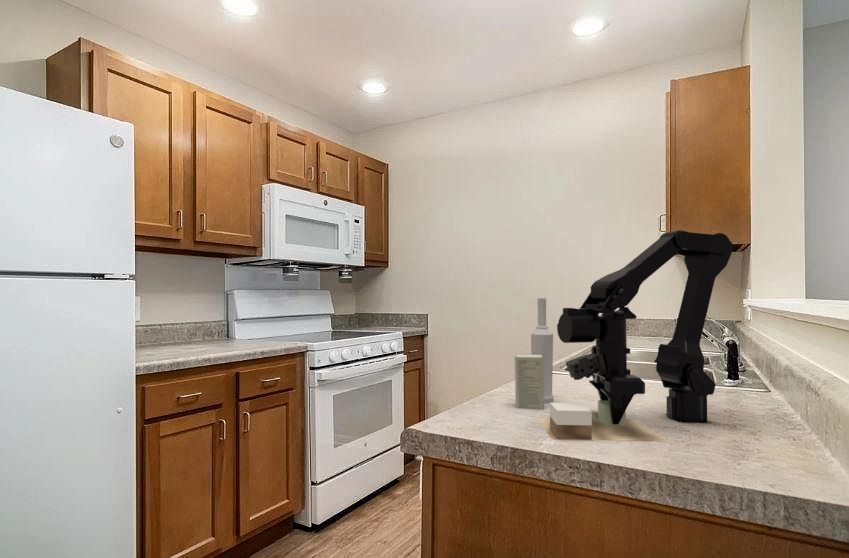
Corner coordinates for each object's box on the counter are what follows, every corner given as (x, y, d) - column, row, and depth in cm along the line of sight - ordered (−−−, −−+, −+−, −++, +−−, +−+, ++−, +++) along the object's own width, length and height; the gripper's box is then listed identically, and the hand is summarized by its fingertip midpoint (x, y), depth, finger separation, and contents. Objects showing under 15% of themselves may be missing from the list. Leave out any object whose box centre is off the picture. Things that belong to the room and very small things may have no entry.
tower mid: (582, 416, 90) (582, 403, 90) (591, 425, 84) (591, 411, 84) (549, 415, 90) (549, 402, 90) (556, 424, 84) (556, 410, 84)
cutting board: (636, 422, 97) (636, 419, 97) (668, 444, 83) (668, 441, 83) (537, 421, 98) (537, 418, 98) (551, 442, 84) (551, 438, 84)
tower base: (582, 429, 89) (582, 416, 90) (591, 439, 83) (591, 425, 84) (550, 429, 90) (549, 415, 90) (556, 439, 84) (556, 424, 84)
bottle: (531, 405, 111) (531, 298, 112) (530, 400, 117) (530, 298, 117) (554, 406, 111) (554, 298, 111) (552, 401, 116) (551, 298, 116)
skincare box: (543, 407, 109) (543, 354, 110) (543, 412, 105) (543, 357, 105) (515, 406, 111) (515, 353, 111) (514, 410, 106) (514, 356, 107)
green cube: (618, 420, 96) (618, 400, 96) (625, 426, 92) (625, 405, 92) (598, 420, 96) (598, 400, 96) (604, 425, 92) (604, 405, 92)
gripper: (559, 337, 104) (559, 409, 104) (582, 346, 86) (583, 434, 85) (611, 337, 104) (611, 409, 103) (645, 347, 85) (646, 435, 85)
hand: (611, 421), depth 94 cm, fingers closed on green cube, 4 cm apart
